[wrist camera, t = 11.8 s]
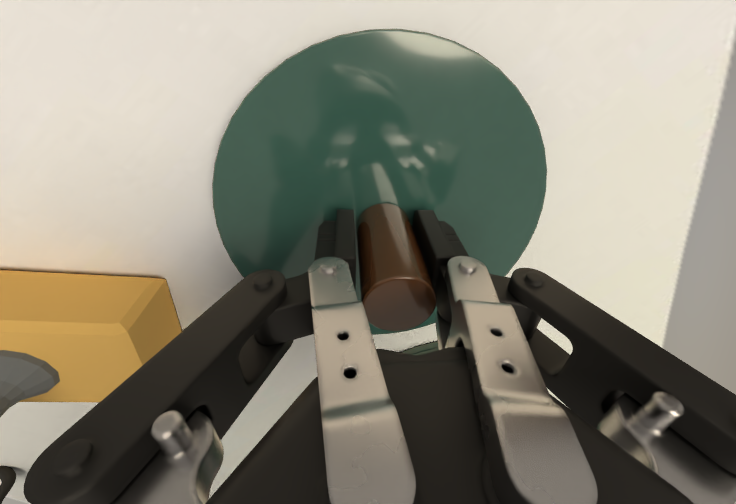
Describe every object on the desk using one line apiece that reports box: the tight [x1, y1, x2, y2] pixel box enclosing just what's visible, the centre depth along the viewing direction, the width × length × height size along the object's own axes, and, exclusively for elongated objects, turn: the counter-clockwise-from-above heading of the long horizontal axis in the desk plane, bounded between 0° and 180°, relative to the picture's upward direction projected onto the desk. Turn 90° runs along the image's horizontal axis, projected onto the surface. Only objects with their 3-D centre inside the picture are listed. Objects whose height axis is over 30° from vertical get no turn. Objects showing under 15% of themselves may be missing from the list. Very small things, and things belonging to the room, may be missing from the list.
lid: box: [212, 29, 547, 334], centre depth 12 cm, size 14×14×6 cm
